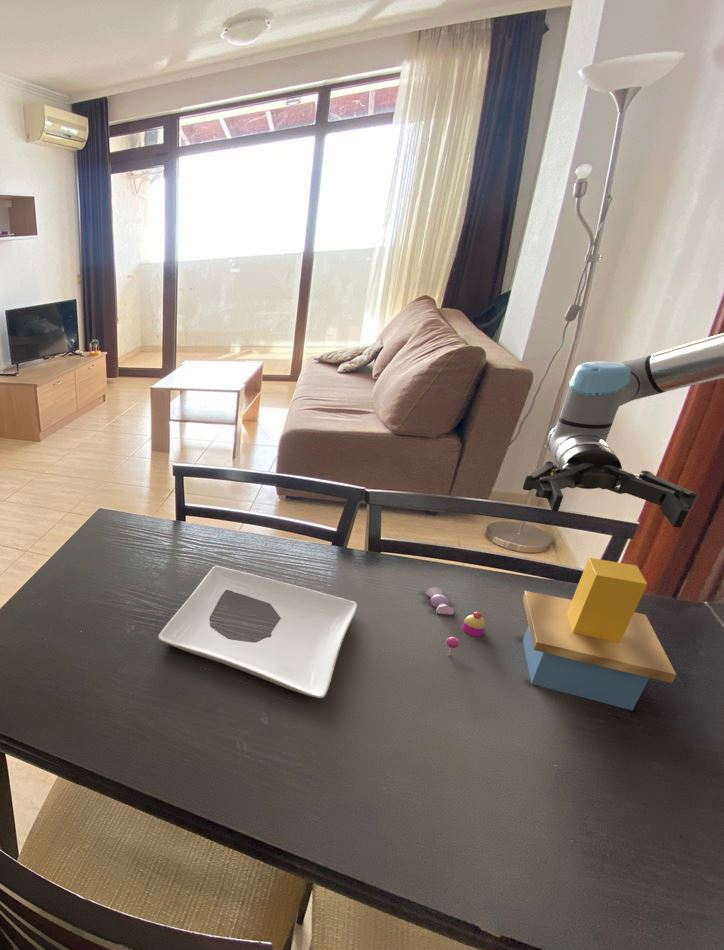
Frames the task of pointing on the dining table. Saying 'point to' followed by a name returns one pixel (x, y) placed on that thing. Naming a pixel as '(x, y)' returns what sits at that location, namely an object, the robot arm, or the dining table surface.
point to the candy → (471, 624)
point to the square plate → (293, 639)
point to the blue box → (583, 678)
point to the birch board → (596, 640)
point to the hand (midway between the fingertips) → (616, 511)
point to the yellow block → (605, 599)
